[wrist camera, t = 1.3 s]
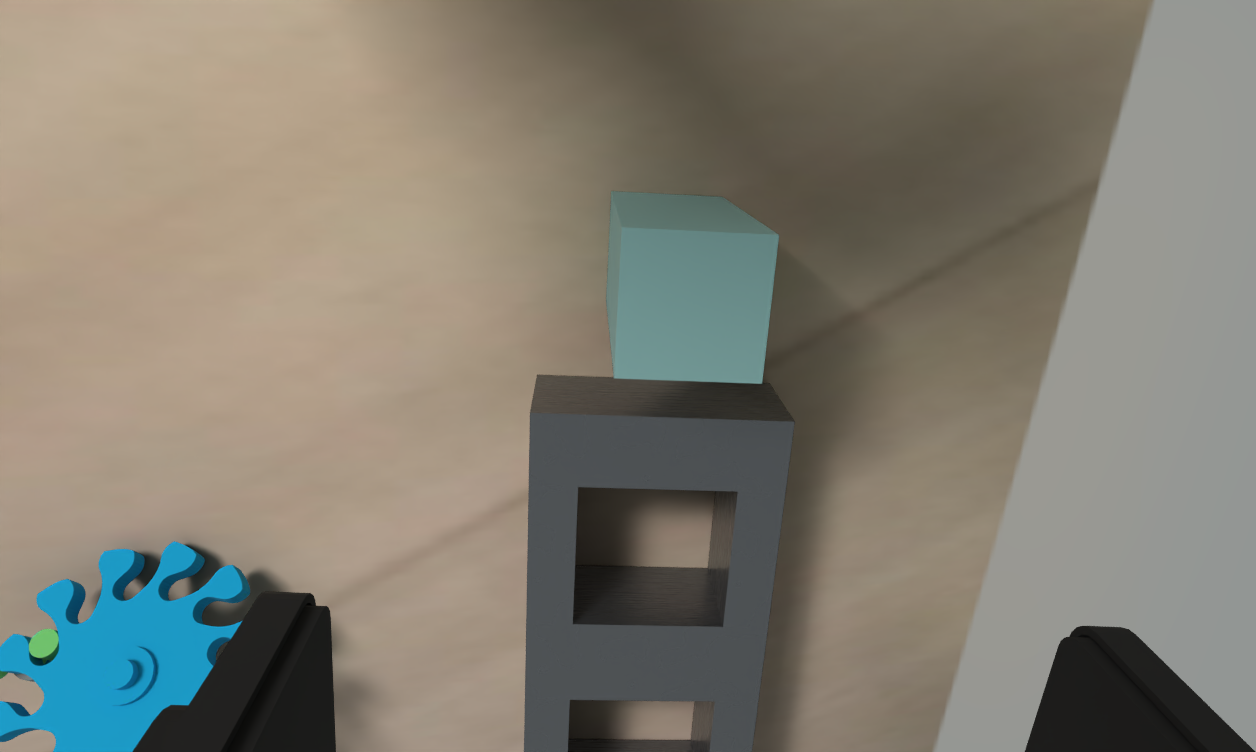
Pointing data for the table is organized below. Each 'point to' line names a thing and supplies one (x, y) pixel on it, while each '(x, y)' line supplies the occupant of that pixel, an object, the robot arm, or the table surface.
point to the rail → (652, 596)
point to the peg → (688, 288)
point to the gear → (118, 652)
